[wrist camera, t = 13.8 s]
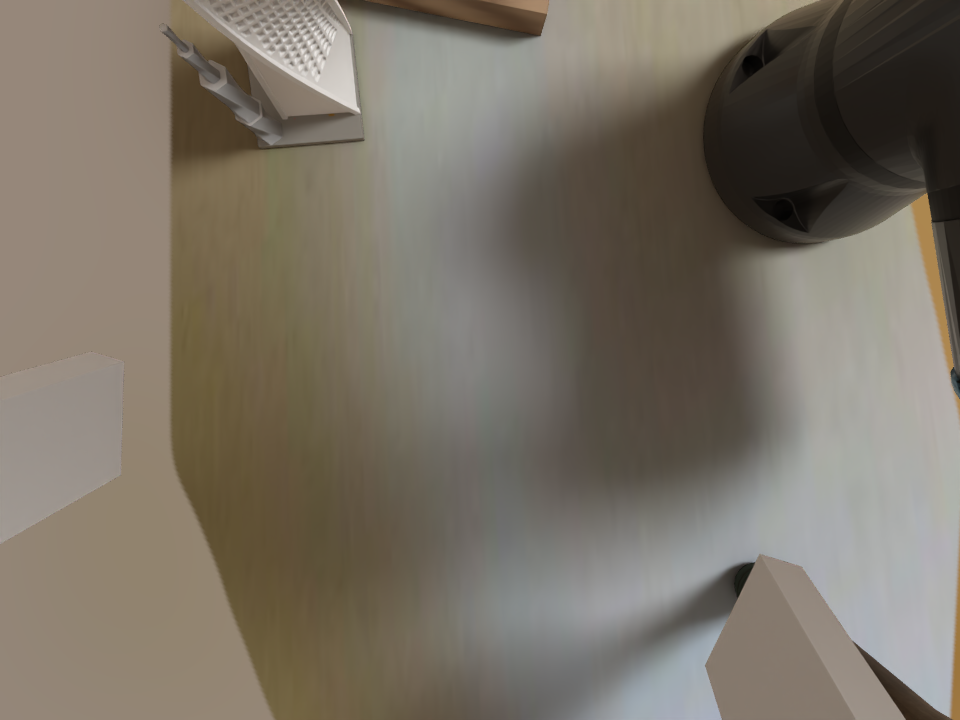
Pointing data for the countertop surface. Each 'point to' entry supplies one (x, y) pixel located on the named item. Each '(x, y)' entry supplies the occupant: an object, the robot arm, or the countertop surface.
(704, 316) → the countertop surface
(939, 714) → the stick grenade
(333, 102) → the skyscraper
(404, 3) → the board
